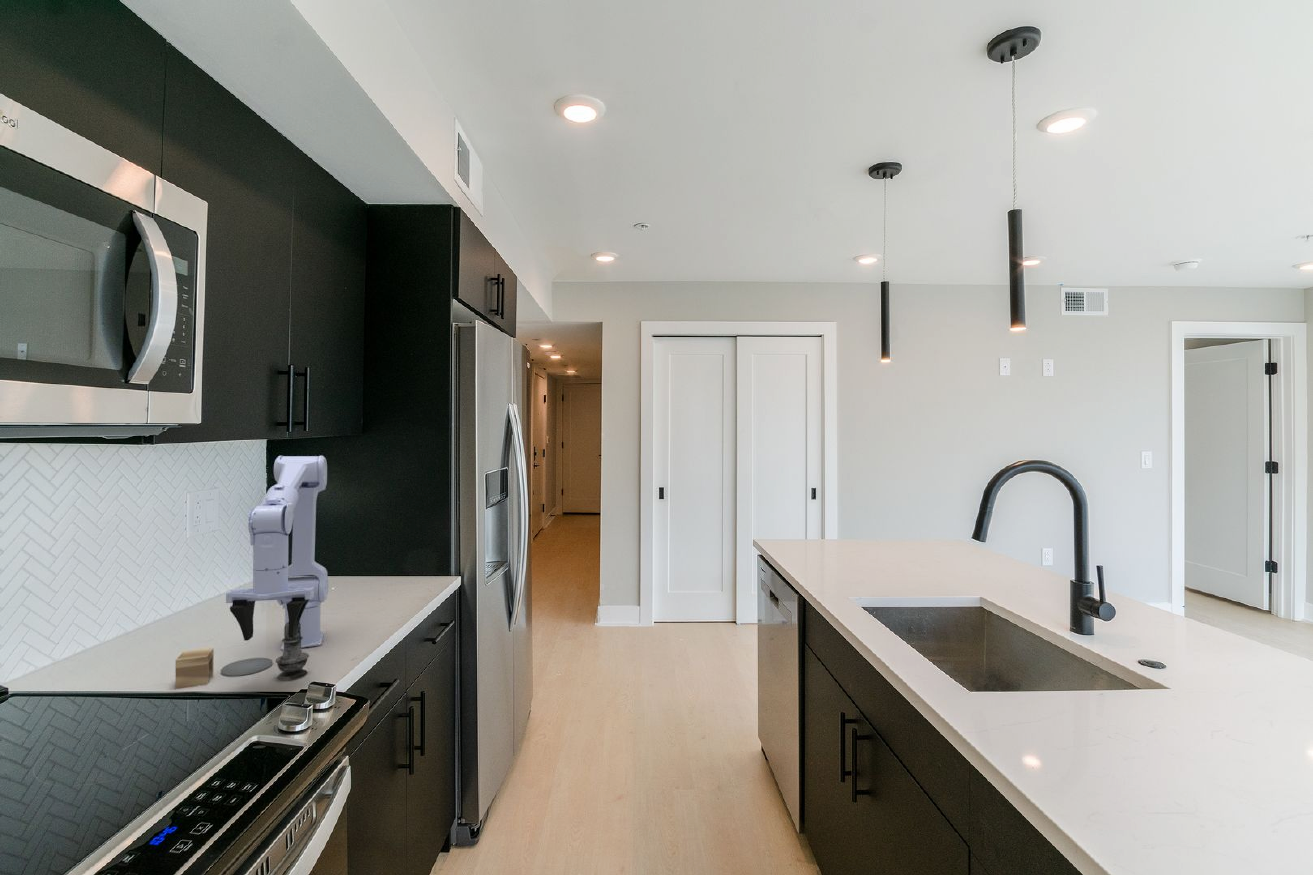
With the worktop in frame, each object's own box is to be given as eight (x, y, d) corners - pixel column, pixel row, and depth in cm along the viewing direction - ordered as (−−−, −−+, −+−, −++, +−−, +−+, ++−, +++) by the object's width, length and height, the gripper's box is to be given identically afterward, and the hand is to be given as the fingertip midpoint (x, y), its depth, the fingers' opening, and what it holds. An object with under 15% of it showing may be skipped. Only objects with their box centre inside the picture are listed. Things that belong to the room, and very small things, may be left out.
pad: (225, 663, 127) (225, 661, 127) (275, 656, 131) (275, 655, 131) (215, 679, 119) (216, 677, 119) (269, 671, 123) (269, 669, 123)
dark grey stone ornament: (293, 682, 118) (293, 622, 118) (268, 679, 119) (268, 619, 119) (315, 670, 124) (316, 613, 124) (291, 668, 125) (291, 611, 125)
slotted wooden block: (182, 679, 119) (183, 651, 119) (213, 674, 122) (213, 647, 121) (175, 688, 115) (175, 660, 115) (207, 684, 117) (207, 656, 117)
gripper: (217, 573, 110) (217, 647, 110) (305, 570, 113) (304, 642, 113) (235, 565, 117) (235, 634, 117) (317, 562, 120) (317, 629, 120)
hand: (270, 637), depth 115 cm, fingers open, 7 cm apart
